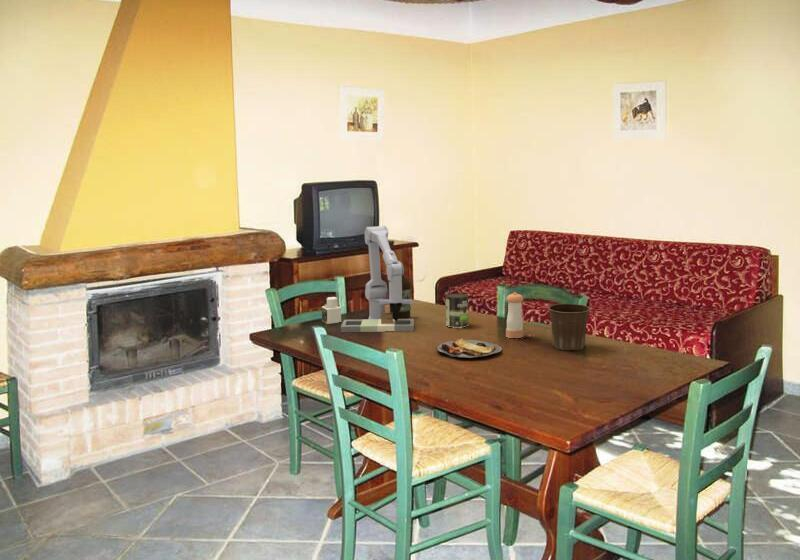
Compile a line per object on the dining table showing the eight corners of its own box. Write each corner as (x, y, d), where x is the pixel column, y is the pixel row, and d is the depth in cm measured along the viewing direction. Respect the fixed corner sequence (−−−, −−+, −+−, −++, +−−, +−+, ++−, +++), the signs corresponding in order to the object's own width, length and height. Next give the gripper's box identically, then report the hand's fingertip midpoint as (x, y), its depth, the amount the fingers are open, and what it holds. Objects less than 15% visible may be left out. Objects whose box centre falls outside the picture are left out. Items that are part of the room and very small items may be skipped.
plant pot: (583, 354, 288) (583, 313, 285) (542, 350, 296) (542, 309, 293) (594, 344, 302) (595, 305, 299) (554, 340, 310) (555, 302, 307)
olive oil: (384, 318, 358) (383, 266, 354) (402, 315, 364) (401, 264, 360) (397, 322, 350) (396, 268, 345) (415, 318, 356) (415, 266, 351)
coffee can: (473, 326, 339) (473, 295, 336) (456, 329, 332) (456, 298, 330) (457, 322, 346) (457, 292, 344) (440, 326, 340) (440, 295, 338)
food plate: (424, 352, 296) (424, 343, 295) (463, 341, 312) (463, 333, 311) (473, 365, 278) (473, 356, 278) (512, 353, 294) (512, 345, 294)
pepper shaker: (525, 336, 318) (526, 291, 315) (519, 339, 312) (519, 294, 309) (509, 334, 322) (510, 290, 319) (503, 338, 316) (503, 293, 313)
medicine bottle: (322, 321, 354) (321, 296, 352) (336, 319, 357) (335, 294, 355) (327, 324, 348) (326, 298, 346) (341, 322, 351) (340, 297, 349)
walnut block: (381, 321, 340) (381, 312, 340) (392, 321, 340) (392, 312, 339) (381, 323, 335) (381, 315, 335) (392, 323, 335) (392, 314, 335)
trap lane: (344, 325, 346) (344, 319, 345) (413, 324, 345) (413, 318, 344) (341, 332, 332) (341, 326, 331) (413, 331, 331) (413, 325, 331)
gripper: (378, 292, 331) (379, 322, 334) (411, 291, 331) (412, 321, 333) (379, 289, 338) (380, 318, 341) (411, 288, 338) (412, 318, 340)
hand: (396, 320), depth 337 cm, fingers closed
